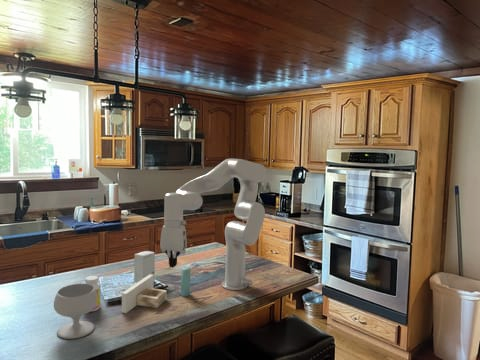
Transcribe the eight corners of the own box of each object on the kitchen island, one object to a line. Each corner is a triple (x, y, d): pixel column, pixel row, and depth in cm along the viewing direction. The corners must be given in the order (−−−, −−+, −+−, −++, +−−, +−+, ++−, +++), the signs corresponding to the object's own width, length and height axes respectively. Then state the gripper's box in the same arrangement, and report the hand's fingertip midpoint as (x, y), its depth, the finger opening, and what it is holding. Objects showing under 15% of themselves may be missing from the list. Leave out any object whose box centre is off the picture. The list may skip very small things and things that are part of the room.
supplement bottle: (79, 312, 139) (79, 280, 137) (85, 304, 145) (85, 274, 144) (97, 312, 139) (97, 281, 138) (102, 305, 146) (102, 274, 144)
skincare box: (142, 287, 165) (143, 256, 164) (133, 284, 168) (133, 253, 167) (155, 281, 173) (155, 251, 171) (146, 278, 176) (146, 249, 174)
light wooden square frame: (166, 299, 153) (166, 290, 153) (156, 308, 144) (156, 298, 144) (147, 296, 155) (148, 287, 155) (137, 304, 146) (137, 295, 146)
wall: (153, 291, 161) (153, 274, 160) (126, 313, 139) (126, 293, 139) (149, 291, 161) (149, 274, 160) (121, 312, 140) (121, 293, 139)
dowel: (191, 293, 160) (191, 268, 159) (187, 297, 156) (188, 270, 155) (183, 292, 161) (183, 266, 160) (179, 295, 157) (180, 269, 156)
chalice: (104, 322, 132) (104, 283, 130) (85, 342, 118) (85, 299, 116) (68, 319, 133) (67, 281, 131) (45, 339, 119) (44, 297, 117)
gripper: (194, 222, 146) (193, 265, 148) (161, 219, 150) (160, 261, 152) (186, 226, 139) (185, 271, 141) (152, 223, 143) (152, 267, 144)
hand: (172, 266), depth 146 cm, fingers closed
